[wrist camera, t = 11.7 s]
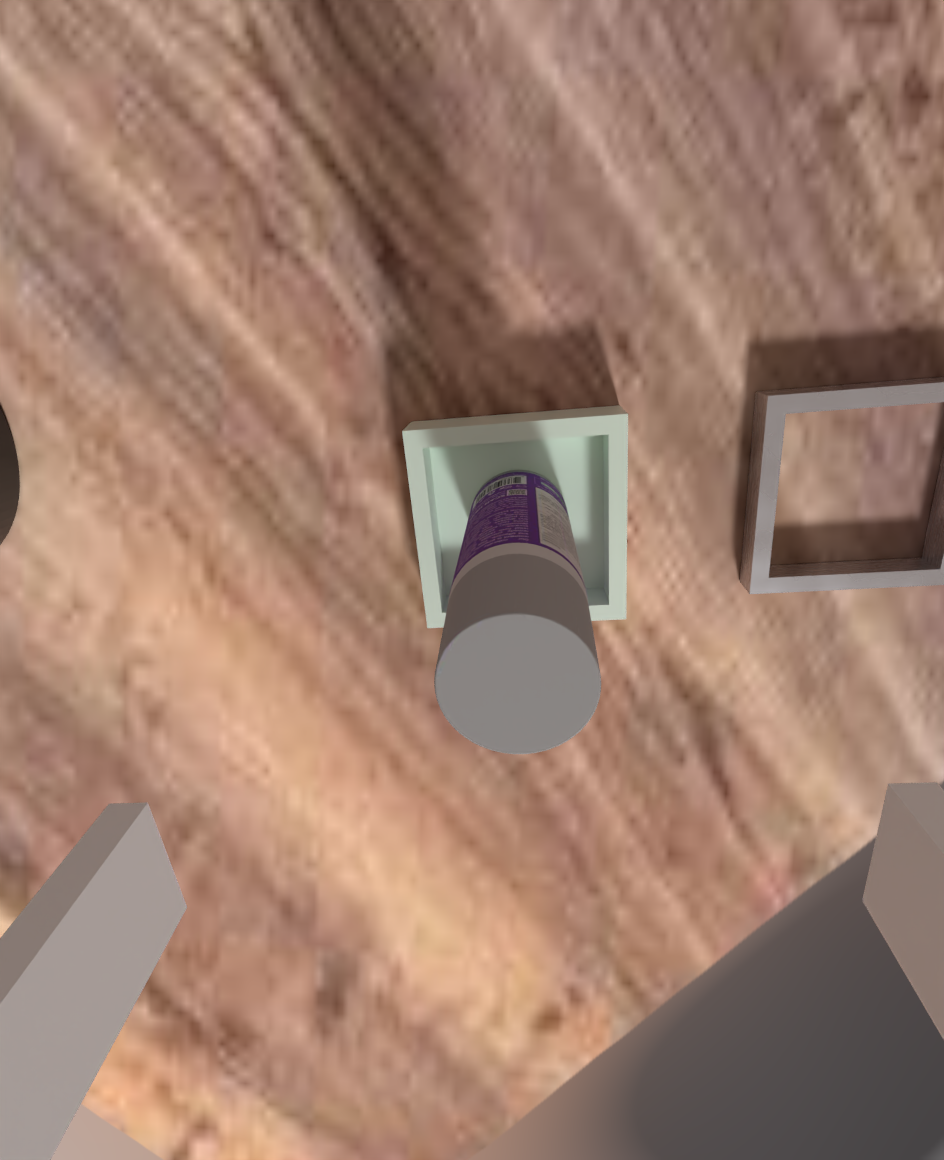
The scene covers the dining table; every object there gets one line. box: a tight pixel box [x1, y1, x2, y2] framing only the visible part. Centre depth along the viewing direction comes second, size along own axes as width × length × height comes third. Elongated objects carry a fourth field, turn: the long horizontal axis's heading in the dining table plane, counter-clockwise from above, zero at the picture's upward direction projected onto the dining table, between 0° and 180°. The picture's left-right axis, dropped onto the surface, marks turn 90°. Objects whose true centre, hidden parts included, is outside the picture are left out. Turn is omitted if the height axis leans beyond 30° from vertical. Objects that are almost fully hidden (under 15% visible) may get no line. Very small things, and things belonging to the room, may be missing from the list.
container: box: [434, 470, 601, 754], centre depth 24 cm, size 5×5×15 cm
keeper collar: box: [740, 377, 944, 594], centre depth 29 cm, size 9×9×2 cm
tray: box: [402, 405, 628, 628], centre depth 30 cm, size 10×10×2 cm
